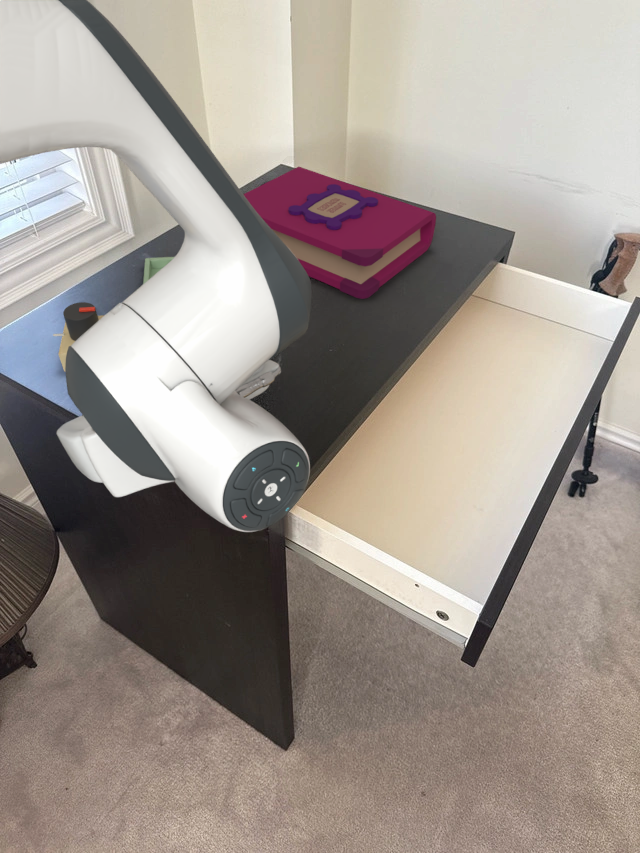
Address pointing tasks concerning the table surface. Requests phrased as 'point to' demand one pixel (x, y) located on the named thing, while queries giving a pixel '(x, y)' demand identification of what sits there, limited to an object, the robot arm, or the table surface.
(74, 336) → the dial
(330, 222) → the book
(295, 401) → the table surface
